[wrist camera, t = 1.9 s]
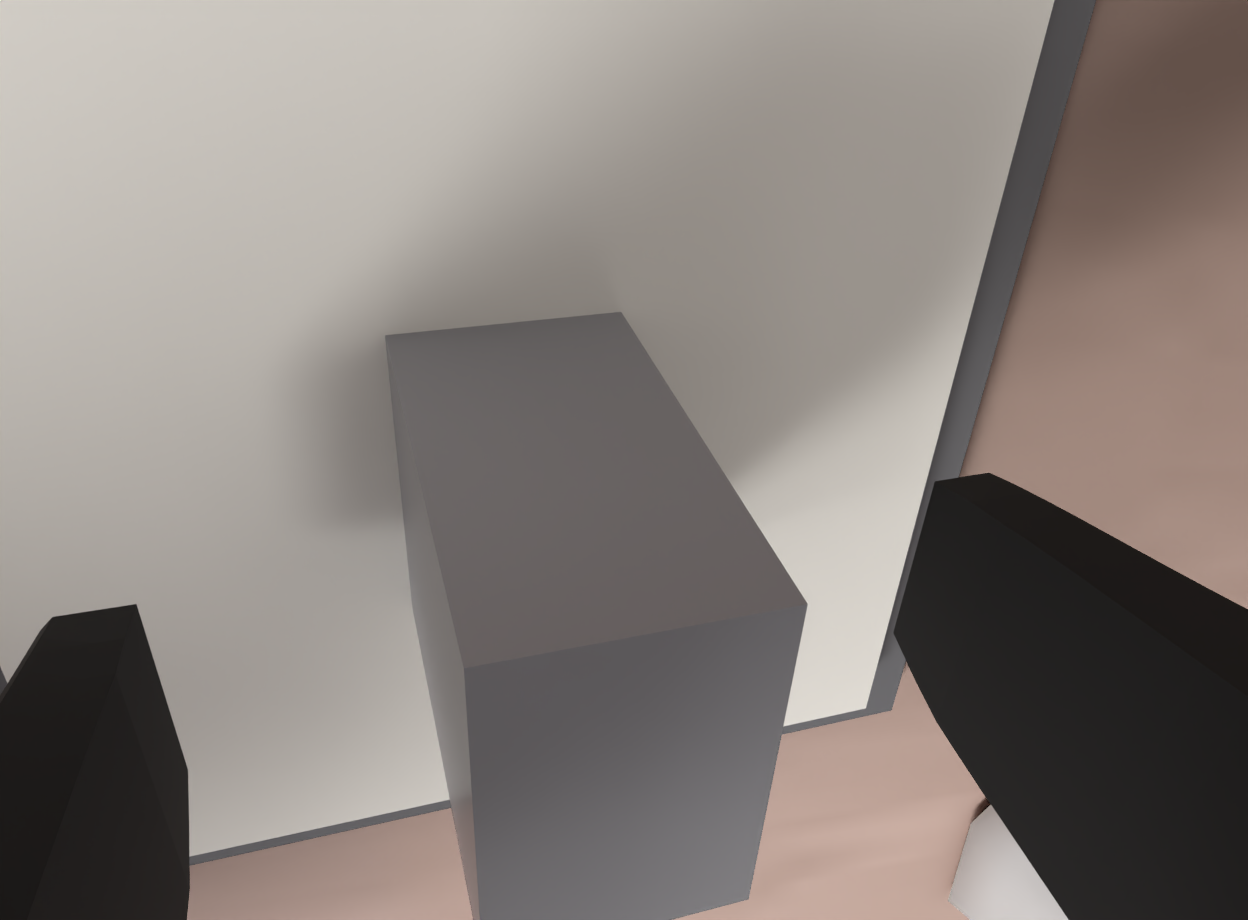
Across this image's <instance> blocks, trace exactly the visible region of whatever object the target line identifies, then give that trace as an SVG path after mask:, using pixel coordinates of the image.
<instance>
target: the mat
mask: <svg viewBox="0 0 1248 920" xmlns="http://www.w3.org/2000/svg"><path fill="white" fill-rule="evenodd" d="M1095 2H1096V0H1055V1H1054V4H1053V8H1052V12H1051V16H1050V19H1049V23H1048V27H1047V31H1046V34H1045V38H1044V42H1043V46H1042V49H1041V53H1040V57H1039V61H1038V64H1037V68H1036V72H1035V76H1034V79H1033V83H1032V87H1031V91H1030V94H1029V98H1028V102H1027V106H1026V109H1025V113H1024V117H1023V121H1022V124H1021V128H1020V132H1019V136H1018V139H1017V143H1016V147H1015V151H1014V154H1013V158H1012V162H1011V166H1010V169H1009V173H1008V177H1007V181H1006V184H1005V188H1004V192H1003V196H1002V199H1001V203H1000V207H999V211H998V214H997V218H996V222H995V226H994V229H993V233H992V237H991V241H990V244H989V248H988V252H987V256H986V259H985V263H984V267H983V271H982V274H981V278H980V282H979V286H978V289H977V293H976V297H975V301H974V304H973V308H972V312H971V316H970V319H969V323H968V327H967V331H966V335H965V338H964V342H963V346H962V350H961V353H960V357H959V361H958V365H957V368H956V372H955V376H954V380H953V383H952V387H951V391H950V395H949V398H948V402H947V406H946V410H945V413H944V417H943V421H942V425H941V428H940V432H939V436H938V440H937V443H936V447H935V451H934V455H933V458H932V462H931V466H930V470H929V473H928V477H927V481H926V485H925V488H924V492H923V496H922V500H921V503H920V507H919V511H918V515H917V518H916V522H915V526H914V530H913V533H912V537H911V541H910V545H909V548H908V552H907V556H906V560H905V563H904V567H903V571H902V575H901V578H900V582H899V586H898V590H897V593H896V597H895V601H894V605H893V608H892V612H891V616H890V620H889V623H888V627H887V631H886V635H885V638H884V642H883V646H882V650H881V653H880V657H879V661H878V665H877V668H876V672H875V676H874V680H873V683H872V687H871V691H870V695H869V698H868V702H867V706H866V708H865V709H861V710H856V711H852V712H847V713H842V714H838V715H833V716H829V717H824V718H820V719H815V720H811V721H806V722H801V723H797V724H792V725H788V726H783V730H782V734H786V733H791V732H795V731H800V730H804V729H809V728H813V727H818V726H823V725H827V724H832V723H836V722H841V721H845V720H850V719H854V718H859V717H863V716H868V715H872V714H877V713H881V712H886V711H890V710H892V707H893V703H894V700H895V696H896V693H897V689H898V686H899V683H900V679H901V676H902V672H903V669H904V665H905V662H906V659H905V657H904V655H903V653H902V651H901V648H900V646H899V644H898V642H897V640H896V638H895V636H894V633H893V632H894V628H895V624H896V621H897V617H898V613H899V610H900V606H901V602H902V599H903V595H904V592H905V588H906V584H907V581H908V577H909V573H910V570H911V566H912V562H913V559H914V555H915V551H916V548H917V544H918V541H919V537H920V533H921V530H922V526H923V522H924V519H925V515H926V511H927V508H928V504H929V500H930V497H931V493H932V489H933V486H934V482H935V481H939V480H946V479H952V478H959V474H960V471H961V467H962V464H963V460H964V457H965V454H966V450H967V447H968V443H969V440H970V436H971V433H972V429H973V426H974V422H975V419H976V415H977V412H978V408H979V405H980V401H981V398H982V395H983V391H984V388H985V384H986V381H987V377H988V374H989V370H990V367H991V363H992V360H993V356H994V353H995V349H996V346H997V342H998V339H999V336H1000V332H1001V329H1002V325H1003V322H1004V318H1005V315H1006V311H1007V308H1008V304H1009V301H1010V297H1011V294H1012V290H1013V287H1014V284H1015V280H1016V277H1017V273H1018V270H1019V266H1020V263H1021V259H1022V256H1023V252H1024V249H1025V245H1026V242H1027V238H1028V235H1029V231H1030V228H1031V225H1032V221H1033V218H1034V214H1035V211H1036V207H1037V204H1038V200H1039V197H1040V193H1041V190H1042V186H1043V183H1044V179H1045V176H1046V172H1047V169H1048V166H1049V162H1050V159H1051V155H1052V152H1053V148H1054V145H1055V141H1056V138H1057V134H1058V131H1059V127H1060V124H1061V120H1062V117H1063V113H1064V110H1065V107H1066V103H1067V100H1068V96H1069V93H1070V89H1071V86H1072V82H1073V79H1074V75H1075V72H1076V68H1077V65H1078V61H1079V58H1080V54H1081V51H1082V48H1083V44H1084V41H1085V37H1086V34H1087V30H1088V27H1089V23H1090V20H1091V16H1092V13H1093V9H1094V6H1095ZM7 684H8V683H7V681H6V679H5V676H4V674H3V672H2V670H1V667H0V695H1V693H2V692H3V690H4V688H5V687H6V685H7ZM448 808H451V803H450V800H446V801H441V802H436V803H432V804H427V805H423V806H418V807H414V808H409V809H405V810H400V811H395V812H391V813H386V814H382V815H377V816H373V817H368V818H364V819H359V820H354V821H350V822H345V823H341V824H336V825H332V826H327V827H322V828H318V829H313V830H309V831H304V832H300V833H295V834H291V835H286V836H281V837H277V838H272V839H268V840H263V841H259V842H254V843H249V844H245V845H240V846H236V847H231V848H227V849H222V850H218V851H213V852H208V853H204V854H199V855H195V856H190V857H189V866H190V865H195V864H199V863H204V862H208V861H213V860H217V859H222V858H226V857H231V856H235V855H240V854H244V853H249V852H253V851H258V850H262V849H267V848H271V847H276V846H280V845H285V844H289V843H294V842H299V841H303V840H308V839H312V838H317V837H321V836H326V835H330V834H335V833H339V832H344V831H348V830H353V829H357V828H362V827H366V826H371V825H375V824H380V823H384V822H389V821H393V820H398V819H402V818H407V817H411V816H416V815H420V814H425V813H430V812H434V811H439V810H443V809H448Z"/></svg>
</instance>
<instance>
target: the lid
mask: <svg viewBox="0 0 1248 920" xmlns="http://www.w3.org/2000/svg"><path fill="white" fill-rule="evenodd" d="M1054 1H1055V0H0V667H1V670H2V672H3V674H4V676H5V679H6V681H7V683H8V682H9V680H10V679H11V677H12V675H13V674H14V672H15V671H16V669H17V667H18V666H19V664H20V663H21V661H22V659H23V658H24V656H25V654H26V653H27V651H28V649H29V648H30V646H31V645H32V643H33V641H34V640H35V638H36V636H37V635H38V633H39V632H40V630H41V629H42V628H43V627H44V626H45V625H46V623H47V622H48V621H49V620H50V619H51V618H52V617H55V616H62V615H68V614H75V613H81V612H88V611H94V610H101V609H107V608H114V607H120V606H127V605H133V604H137V607H138V611H139V614H140V617H141V620H142V624H143V627H144V630H145V633H146V636H147V640H148V643H149V646H150V649H151V652H152V656H153V659H154V662H155V665H156V669H157V672H158V675H159V678H160V681H161V685H162V688H163V691H164V694H165V697H166V701H167V704H168V707H169V710H170V714H171V717H172V720H173V723H174V726H175V730H176V733H177V736H178V739H179V742H180V746H181V749H182V752H183V755H184V759H185V762H186V765H187V768H188V791H189V857H190V856H195V855H199V854H204V853H208V852H213V851H218V850H222V849H227V848H231V847H236V846H240V845H245V844H249V843H254V842H259V841H263V840H268V839H272V838H277V837H281V836H286V835H291V834H295V833H300V832H304V831H309V830H313V829H318V828H322V827H327V826H332V825H336V824H341V823H345V822H350V821H354V820H359V819H364V818H368V817H373V816H377V815H382V814H386V813H391V812H395V811H400V810H405V809H409V808H414V807H418V806H423V805H427V804H432V803H436V802H441V801H446V800H450V803H451V808H452V813H453V818H454V823H455V829H456V834H457V839H458V844H459V849H460V854H461V859H462V864H463V869H464V875H465V880H466V885H467V890H468V895H469V900H470V905H471V910H472V916H473V920H672V919H676V918H680V917H683V916H687V915H691V914H695V913H699V912H702V911H706V910H710V909H714V908H717V907H721V906H725V905H729V904H733V903H736V902H740V901H744V900H748V899H749V894H750V889H751V884H752V879H753V874H754V869H755V864H756V859H757V854H758V849H759V844H760V840H761V835H762V830H763V825H764V820H765V815H766V810H767V805H768V800H769V795H770V790H771V785H772V780H773V775H774V770H775V765H776V760H777V755H778V750H779V745H780V740H781V735H782V730H783V726H788V725H792V724H797V723H801V722H806V721H811V720H815V719H820V718H824V717H829V716H833V715H838V714H842V713H847V712H852V711H856V710H861V709H865V708H866V706H867V702H868V698H869V695H870V691H871V687H872V683H873V680H874V676H875V672H876V668H877V665H878V661H879V657H880V653H881V650H882V646H883V642H884V638H885V635H886V631H887V627H888V623H889V620H890V616H891V612H892V608H893V605H894V601H895V597H896V593H897V590H898V586H899V582H900V578H901V575H902V571H903V567H904V563H905V560H906V556H907V552H908V548H909V545H910V541H911V537H912V533H913V530H914V526H915V522H916V518H917V515H918V511H919V507H920V503H921V500H922V496H923V492H924V488H925V485H926V481H927V477H928V473H929V470H930V466H931V462H932V458H933V455H934V451H935V447H936V443H937V440H938V436H939V432H940V428H941V425H942V421H943V417H944V413H945V410H946V406H947V402H948V398H949V395H950V391H951V387H952V383H953V380H954V376H955V372H956V368H957V365H958V361H959V357H960V353H961V350H962V346H963V342H964V338H965V335H966V331H967V327H968V323H969V319H970V316H971V312H972V308H973V304H974V301H975V297H976V293H977V289H978V286H979V282H980V278H981V274H982V271H983V267H984V263H985V259H986V256H987V252H988V248H989V244H990V241H991V237H992V233H993V229H994V226H995V222H996V218H997V214H998V211H999V207H1000V203H1001V199H1002V196H1003V192H1004V188H1005V184H1006V181H1007V177H1008V173H1009V169H1010V166H1011V162H1012V158H1013V154H1014V151H1015V147H1016V143H1017V139H1018V136H1019V132H1020V128H1021V124H1022V121H1023V117H1024V113H1025V109H1026V106H1027V102H1028V98H1029V94H1030V91H1031V87H1032V83H1033V79H1034V76H1035V72H1036V68H1037V64H1038V61H1039V57H1040V53H1041V49H1042V46H1043V42H1044V38H1045V34H1046V31H1047V27H1048V23H1049V19H1050V16H1051V12H1052V8H1053V4H1054Z"/></svg>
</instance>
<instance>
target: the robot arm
mask: <svg viewBox="0 0 1248 920" xmlns="http://www.w3.org/2000/svg"><path fill="white" fill-rule="evenodd" d="M893 633H894V636H895V638H896V640H897V642H898V644H899V646H900V648H901V651H902V653H903V655H904V657H905V659H906V661H907V663H908V666H909V668H910V670H911V672H912V674H913V676H914V678H915V681H916V683H917V685H918V687H919V688H920V690H921V692H922V694H923V696H924V698H925V700H926V702H927V704H928V706H929V708H930V710H931V712H932V714H933V716H934V718H935V720H936V722H937V723H938V725H939V726H940V728H941V729H942V731H943V733H944V734H945V736H946V737H947V739H948V740H949V742H950V744H951V745H952V747H953V748H954V750H955V751H956V753H957V754H958V756H959V757H960V759H961V760H962V762H963V763H964V765H965V766H966V768H967V769H968V771H969V772H970V774H971V775H972V777H973V778H974V780H975V781H976V783H977V784H978V786H979V788H980V789H981V791H982V792H983V794H984V795H985V797H986V798H987V799H988V801H989V802H990V804H991V805H992V807H993V808H994V810H995V811H996V813H997V814H998V816H999V817H1000V819H1001V820H1002V822H1003V823H1004V825H1005V826H1006V828H1007V829H1008V831H1009V832H1010V834H1011V835H1012V837H1013V838H1014V840H1015V841H1016V842H1017V844H1018V845H1019V847H1020V848H1021V850H1022V851H1023V853H1024V854H1025V856H1026V857H1027V859H1028V860H1029V862H1030V863H1031V865H1032V866H1033V868H1034V869H1035V871H1036V872H1037V874H1038V875H1039V877H1040V878H1041V880H1042V881H1043V883H1044V884H1045V886H1046V887H1047V888H1048V890H1049V891H1050V893H1051V894H1052V896H1053V897H1054V899H1055V900H1056V902H1057V903H1058V905H1059V906H1060V908H1061V909H1062V911H1063V912H1064V914H1065V915H1066V917H1067V918H1068V920H1248V609H1246V608H1244V607H1242V606H1240V605H1238V604H1236V603H1234V602H1233V601H1231V600H1229V599H1227V598H1225V597H1223V596H1221V595H1219V594H1217V593H1216V592H1214V591H1212V590H1210V589H1208V588H1206V587H1204V586H1202V585H1201V584H1199V583H1197V582H1195V581H1193V580H1191V579H1189V578H1188V577H1186V576H1184V575H1182V574H1180V573H1178V572H1176V571H1175V570H1173V569H1171V568H1169V567H1167V566H1165V565H1163V564H1162V563H1160V562H1158V561H1156V560H1154V559H1153V558H1151V557H1149V556H1147V555H1145V554H1143V553H1142V552H1140V551H1138V550H1136V549H1134V548H1132V547H1131V546H1129V545H1127V544H1125V543H1123V542H1121V541H1120V540H1118V539H1116V538H1114V537H1112V536H1111V535H1109V534H1107V533H1105V532H1103V531H1101V530H1100V529H1098V528H1096V527H1094V526H1092V525H1091V524H1089V523H1087V522H1085V521H1083V520H1081V519H1080V518H1078V517H1076V516H1074V515H1072V514H1070V513H1068V512H1066V511H1065V510H1063V509H1061V508H1059V507H1057V506H1055V505H1053V504H1052V503H1050V502H1048V501H1046V500H1044V499H1042V498H1040V497H1038V496H1036V495H1034V494H1032V493H1030V492H1029V491H1026V490H1024V489H1022V488H1020V487H1018V486H1016V485H1014V484H1012V483H1010V482H1008V481H1006V480H1004V479H1002V478H999V477H997V476H995V475H993V474H991V473H985V474H978V475H972V476H965V477H959V478H952V479H946V480H939V481H935V482H934V486H933V489H932V493H931V497H930V500H929V504H928V508H927V511H926V515H925V519H924V522H923V526H922V530H921V533H920V537H919V541H918V544H917V548H916V551H915V555H914V559H913V562H912V566H911V570H910V573H909V577H908V581H907V584H906V588H905V592H904V595H903V599H902V602H901V606H900V610H899V613H898V617H897V621H896V624H895V628H894V632H893ZM189 889H190V872H189V791H188V768H187V765H186V762H185V759H184V755H183V752H182V749H181V746H180V742H179V739H178V736H177V733H176V730H175V726H174V723H173V720H172V717H171V714H170V710H169V707H168V704H167V701H166V697H165V694H164V691H163V688H162V685H161V681H160V678H159V675H158V672H157V669H156V665H155V662H154V659H153V656H152V652H151V649H150V646H149V643H148V640H147V636H146V633H145V630H144V627H143V624H142V620H141V617H140V614H139V611H138V607H137V604H133V605H127V606H120V607H114V608H107V609H101V610H94V611H88V612H81V613H75V614H68V615H62V616H55V617H52V618H51V619H50V620H49V621H48V622H47V623H46V625H45V626H44V627H43V628H42V629H41V630H40V632H39V633H38V635H37V636H36V638H35V640H34V641H33V643H32V645H31V646H30V648H29V649H28V651H27V653H26V654H25V656H24V658H23V659H22V661H21V663H20V664H19V666H18V667H17V669H16V671H15V672H14V674H13V675H12V677H11V679H10V680H9V682H8V684H7V685H6V687H5V688H4V690H3V692H2V693H1V695H0V920H187V910H188V900H189Z"/></svg>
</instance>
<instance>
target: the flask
mask: <svg viewBox="0 0 1248 920" xmlns="http://www.w3.org/2000/svg"><path fill="white" fill-rule="evenodd" d="M948 901H949V902H950V903H951V904H952V905H953V906H955V907H956V908H957V909H958V910H959V911H960V912H962V913H963V914H964V915H965V916H966V917H967V918H969V919H970V920H1068V918H1067V917H1066V915H1065V914H1064V912H1063V911H1062V909H1061V908H1060V906H1059V905H1058V903H1057V902H1056V900H1055V899H1054V897H1053V896H1052V894H1051V893H1050V891H1049V890H1048V888H1047V887H1046V886H1045V884H1044V883H1043V881H1042V880H1041V878H1040V877H1039V875H1038V874H1037V872H1036V871H1035V869H1034V868H1033V866H1032V865H1031V863H1030V862H1029V860H1028V859H1027V857H1026V856H1025V854H1024V853H1023V851H1022V850H1021V848H1020V847H1019V845H1018V844H1017V842H1016V841H1015V840H1014V838H1013V837H1012V835H1011V834H1010V832H1009V831H1008V829H1007V828H1006V826H1005V825H1004V823H1003V822H1002V820H1001V819H1000V817H999V816H998V814H997V813H996V811H995V810H994V808H993V807H992V805H990V806H989V807H988V808H986V809H985V810H984V811H983V812H982V813H981V814H980V815H979V816H978V817H977V818H976V819H975V820H974V821H973V822H972V823H971V825H970V828H969V831H968V835H967V838H966V841H965V845H964V848H963V852H962V855H961V858H960V862H959V865H958V868H957V872H956V875H955V879H954V882H953V885H952V889H951V892H950V895H949V899H948Z"/></svg>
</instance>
